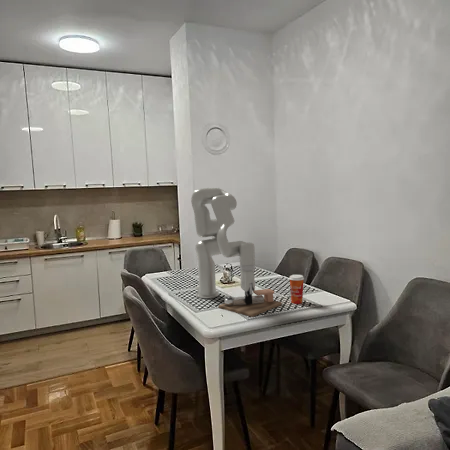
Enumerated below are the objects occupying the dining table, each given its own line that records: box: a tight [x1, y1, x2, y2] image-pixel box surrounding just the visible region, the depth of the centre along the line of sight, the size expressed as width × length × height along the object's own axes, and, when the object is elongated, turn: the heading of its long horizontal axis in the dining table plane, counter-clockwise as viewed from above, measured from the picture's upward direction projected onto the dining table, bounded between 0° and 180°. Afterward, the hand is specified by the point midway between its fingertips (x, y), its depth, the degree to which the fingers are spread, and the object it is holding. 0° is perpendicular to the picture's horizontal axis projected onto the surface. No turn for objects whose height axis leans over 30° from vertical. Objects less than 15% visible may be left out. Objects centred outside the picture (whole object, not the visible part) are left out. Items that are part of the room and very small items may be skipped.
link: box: [224, 295, 264, 306], centre depth 204 cm, size 20×5×4 cm, turn 101°
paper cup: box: [288, 274, 305, 305], centre depth 208 cm, size 8×8×14 cm
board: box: [217, 295, 282, 318], centre depth 204 cm, size 22×24×1 cm
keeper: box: [253, 288, 275, 302], centre depth 208 cm, size 10×6×6 cm, turn 107°
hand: (248, 303), depth 201 cm, fingers closed
